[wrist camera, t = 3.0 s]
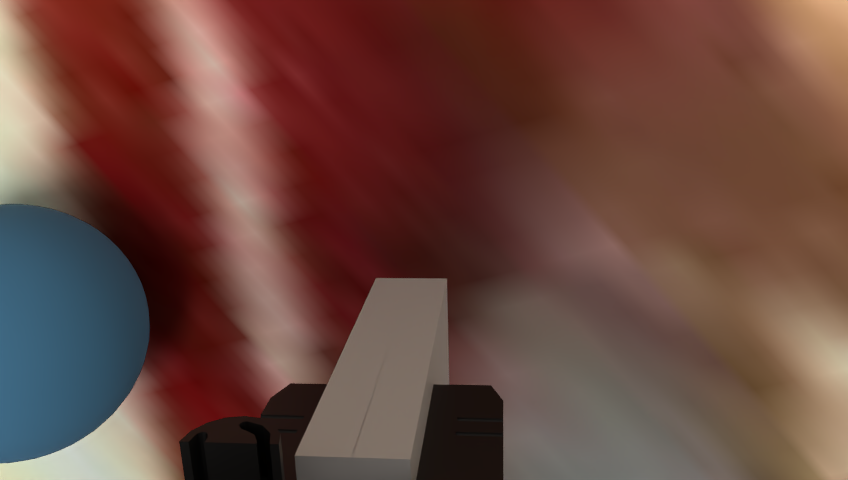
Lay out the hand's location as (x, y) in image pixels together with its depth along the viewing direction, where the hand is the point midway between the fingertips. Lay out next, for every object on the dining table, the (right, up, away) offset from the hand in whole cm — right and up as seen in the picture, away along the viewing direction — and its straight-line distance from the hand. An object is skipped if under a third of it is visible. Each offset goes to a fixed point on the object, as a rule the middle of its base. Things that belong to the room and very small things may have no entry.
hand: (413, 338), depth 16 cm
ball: (-9, 0, +2) cm, 10 cm away
